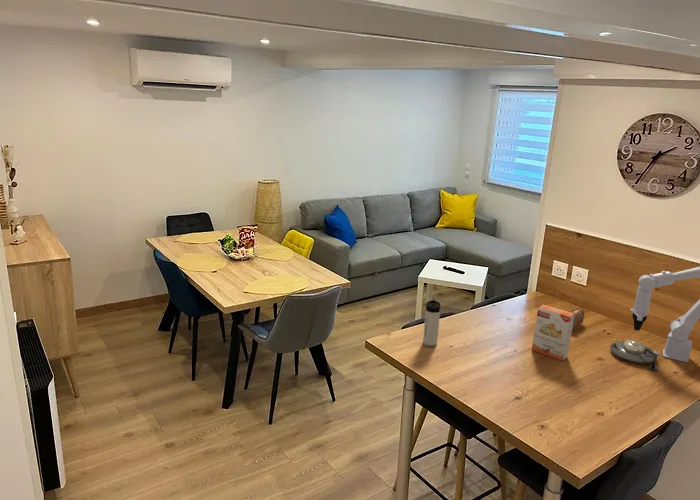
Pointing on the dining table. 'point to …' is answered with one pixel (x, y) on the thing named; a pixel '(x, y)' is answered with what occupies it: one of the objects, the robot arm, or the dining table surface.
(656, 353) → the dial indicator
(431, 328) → the travel mug
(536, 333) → the cracker box
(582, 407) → the dining table surface
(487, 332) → the dining table surface
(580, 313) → the tin
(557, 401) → the dining table surface
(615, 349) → the disc
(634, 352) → the cover
